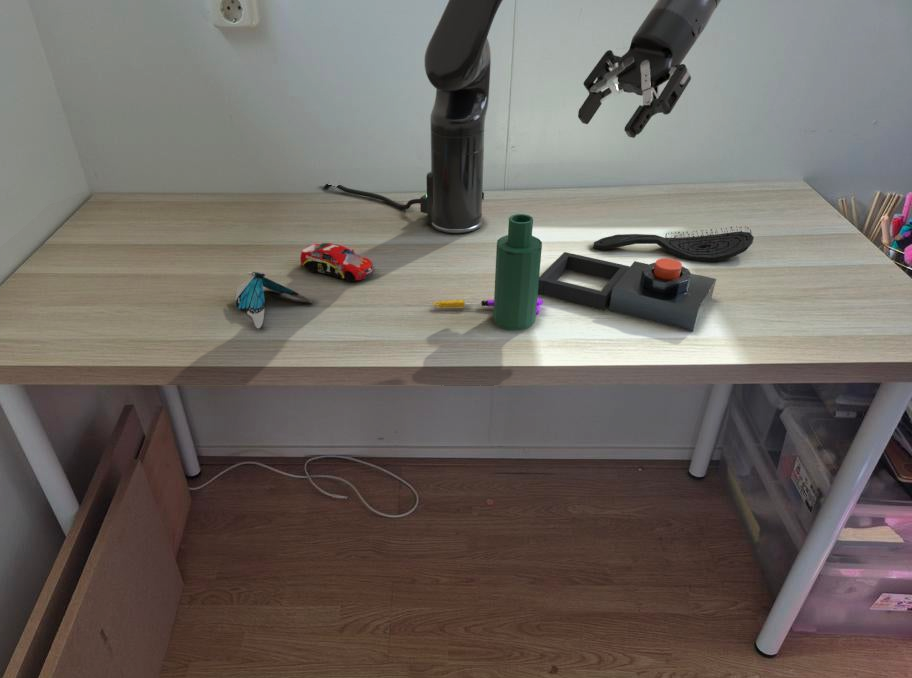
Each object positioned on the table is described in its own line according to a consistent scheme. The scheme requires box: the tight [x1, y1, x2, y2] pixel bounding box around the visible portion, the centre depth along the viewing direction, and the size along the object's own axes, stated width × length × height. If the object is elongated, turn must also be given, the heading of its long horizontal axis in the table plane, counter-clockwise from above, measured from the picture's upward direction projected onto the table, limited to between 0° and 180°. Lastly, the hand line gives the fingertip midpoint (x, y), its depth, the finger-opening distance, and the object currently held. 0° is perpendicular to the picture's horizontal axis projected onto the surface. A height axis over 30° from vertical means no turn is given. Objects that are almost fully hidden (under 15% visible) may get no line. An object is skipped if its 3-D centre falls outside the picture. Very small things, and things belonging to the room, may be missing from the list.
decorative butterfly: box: [235, 271, 314, 329], centre depth 107 cm, size 10×6×10 cm
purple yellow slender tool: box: [434, 297, 544, 314], centre depth 104 cm, size 3×1×16 cm
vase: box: [492, 213, 543, 331], centre depth 97 cm, size 6×6×16 cm
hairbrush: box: [593, 225, 754, 263], centre depth 117 cm, size 8×4×25 cm
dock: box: [538, 251, 631, 311], centre depth 108 cm, size 11×11×2 cm
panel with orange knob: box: [608, 260, 717, 333], centre depth 102 cm, size 12×10×6 cm
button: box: [653, 257, 683, 279], centre depth 100 cm, size 4×4×2 cm
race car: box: [299, 242, 374, 283], centre depth 116 cm, size 13×5×4 cm, turn 57°
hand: (604, 127), depth 98 cm, fingers open, 8 cm apart
